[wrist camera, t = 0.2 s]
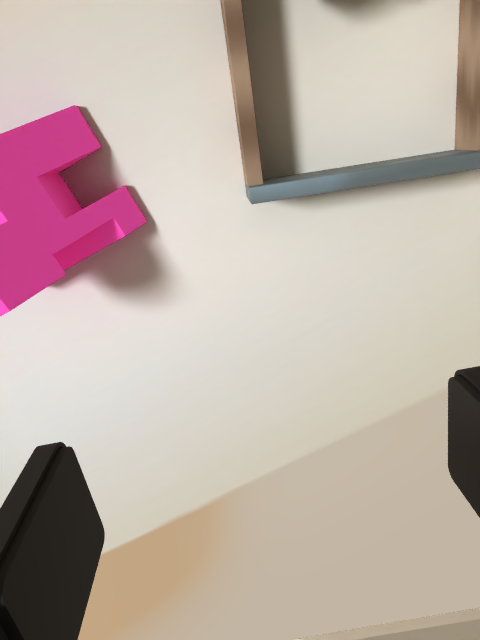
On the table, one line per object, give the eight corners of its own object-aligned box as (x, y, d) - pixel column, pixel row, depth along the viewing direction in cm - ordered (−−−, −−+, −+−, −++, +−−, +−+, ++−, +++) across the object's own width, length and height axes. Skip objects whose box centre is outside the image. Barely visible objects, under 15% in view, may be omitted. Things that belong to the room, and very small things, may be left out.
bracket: (34, 284, 41) (-21, 327, 31) (-44, 180, 37) (-133, 193, 27) (147, 220, 39) (125, 246, 30) (77, 106, 35) (27, 92, 26)
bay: (197, -171, 30) (194, -229, 25) (485, -216, 30) (535, -282, 25) (247, 196, 39) (251, 204, 34) (467, 162, 39) (502, 165, 34)
